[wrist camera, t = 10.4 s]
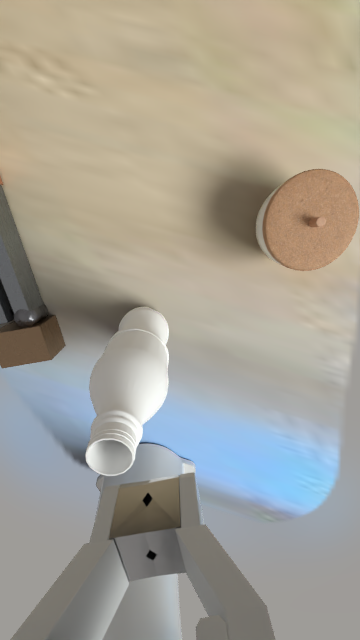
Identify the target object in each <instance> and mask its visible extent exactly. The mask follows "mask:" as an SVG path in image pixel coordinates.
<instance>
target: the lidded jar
mask: <svg viewBox="0 0 360 640" xmlns="http://www.w3.org/2000/svg"><path fill="white" fill-rule="evenodd" d="M358 218H359V206H358V200H357V197H356V194H355V192H354V190H353V188H352V186H351V185H350V184H349V182H348V181H347V180H346V179H345V178H343V177H342V176H341V175H339V174H337V173H336V172H333V171H330V170H325V169H313V170H308V171H304V172H302V173H299V174H297V175H295V176H294V177H292V178H290V179H289V180H287V181H286V182H285V183H283V184H281V185H280V186H279V187H278V188H276V189H275V190H274V191H273V192H272V193H271V194H270V195H269V196H268V197H267V199H266V200H265V202H264V203H263V205H262V206H261V208H260V210H259V213H258V216H257V220H256V237H257V241H258V243H259V246H260V248H261V249H262V251H263V252H264V253H265V254H266V255H267V256H268V257H269V258H270V259H271V260H273V261H274V262H276V263H278V264H280V265H283V266H285V267H287V268H291V269H294V270H300V271H309V270H315V269H318V268H321V267H324V266H326V265H328V264H329V263H331V262H332V261H334V260H335V259H337V258H338V257H339V256H340V255H341V254H342V253H343V252H344V250H345V249H346V248H347V247H348V245H349V243H350V242H351V240H352V238H353V236H354V234H355V231H356V228H357V224H358Z"/></svg>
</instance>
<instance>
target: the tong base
mask: <svg viewBox="0 0 360 640" xmlns="http://www.w3.org/2000/svg"><path fill="white" fill-rule="evenodd" d="M12 320H14V312H13V309H12V306H11V304H10V301H9V299H8V296H7V294H6V291H5V289H4V286H3V284H2V281H1V279H0V324H2V323H8V322H10V321H12ZM64 346H65V342H64V339H63V336H62V333H61V330H60V327H59V324H58V321H57V318H56V315H55V316H49V317H45V318H43V319H42V320H40V321H39V322H37V323H35V324H34V325H32V326H30V327H24V328H23V327H20V326H19V325H18V324H17V323H16V322H14V323H10V324H8V325H6V326H4V327H2V328H0V365H1V367H2V368H7V367H13V366H18V365H24V364H30V363H36V362H42V361H47V360H52V359H53V358H54V357H55V356H56V355H57V354H58V353H59V352H60V351H61V350H62V349H63V348H64Z"/></svg>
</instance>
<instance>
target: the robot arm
mask: <svg viewBox="0 0 360 640" xmlns="http://www.w3.org/2000/svg"><path fill="white" fill-rule="evenodd" d="M96 486H97V488H98V489H99V491H100V497H99V503H98V508H97V513H96V518H95V523H94V527H93V531H92V535H91V538H90V542H89V543H87V544H84V545H83V546H82V548H81V549H80V550H79V552H78V553H77V554H76V556H75V557H74V558H73V559H72V561H71V562H70V563H69V565H68V566H67V567H66V568H65V570H64V571H63V572H62V574H61V575H60V576H59V577H58V579H57V580H56V581H55V583H54V584H53V585H52V587H51V588H50V589H49V590H48V592H47V593H46V594H45V596H44V597H43V598H42V599H41V601H40V602H39V604H38V605H37V606H36V607H35V609H34V610H33V611H32V612H31V614H30V615H29V616H28V618H27V619H26V620H25V622H24V623H23V624H22V625H21V627H20V628H19V629H18V631H17V632H16V633H15V634H14V636H13V637H12V639H11V640H182V631H181V621H180V607H179V590H178V573H185V572H186V573H187V575H188V578H189V579H190V581H191V583H192V585H193V587H194V589H195V591H196V593H197V595H198V597H199V598H200V600H201V602H202V604H203V606H204V608H205V610H206V612H207V614H208V616H209V617H205V618H201V619H200V620H199V622H198V624H197V626H196V639H197V640H275V636H274V632H273V629H272V625H271V621H270V618H269V614H268V610H267V606H266V605H265V603H264V602H263V601H262V599H261V598H260V597H259V596H258V594H257V593H256V592H255V590H254V589H253V588H252V586H251V585H250V583H249V582H248V581H247V579H246V578H245V577H244V575H243V574H242V573H241V571H240V570H239V569H238V567H237V566H236V565H235V563H234V562H233V561H232V559H231V558H230V557H229V556H228V554H227V553H226V551H225V550H224V549H223V548H222V546H221V545H220V543H219V542H218V541H217V539H216V538H215V537H214V535H213V534H212V533H211V531H210V530H209V529H208V527H207V526H206V525H205V524H204V522H203V514H202V508H201V502H200V496H199V491H198V486H197V481H196V475H195V464H194V463H193V462H192V461H189V460H187V459H183V458H181V457H179V456H178V455H176V454H175V453H174V452H172V451H171V450H169V449H168V448H165V447H163V446H160V445H156V444H138V446H137V448H136V453H135V460H134V462H133V465H132V466H131V468H129V469H128V470H127V471H126V472H125V473H122V474H119V475H116V476H106V475H102V474H101V475H100V476H99V477H98V478H97V483H96Z"/></svg>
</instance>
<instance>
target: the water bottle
mask: <svg viewBox="0 0 360 640" xmlns="http://www.w3.org/2000/svg"><path fill="white" fill-rule="evenodd" d="M168 336H169V328H168V324H167V321H166V319H165V318H164V316H163V315H162V314H161V313H160V312H158V311H155V310H153V309H151V308H149V307H138V308H135V309H133V310H131V311H129V312H128V313H127V314H126V315H125V316H124V317H123V318H122V320H121V322H120V324H119V331H118V332H117V333H115V334H114V335H113V336H112V337H111V339H110V340H109V342H108V344H107V346H106V348H105V351H104V353H103V355H102V357H101V358H100V359H99V360H98V361H97V363H96V364H95V366H94V368H93V371H92V374H91V377H90V385H89V390H90V397H91V401H92V404H93V407H94V409H95V412H96V414H97V417H96V418H95V419H94V421H93V423H92V426H91V436H90V438H91V439H90V441H89V444H88V447H87V449H86V454H85V455H86V462H87V464H88V465H89V467H90V468H91V469H92V470H94V471H95V472H97V473H99V474H102V475H106V476H116V475H119V474H122V473H125V472H126V471H127V470H128V469H129V468H131V466H132V465H133V462H134V460H135V453H136V448H137V446H138V444H139V442H140V440H141V438H142V433H143V428H142V425H143V424H144V423H145V422H147V421H148V420H149V419H150V418H151V417H152V416H153V415H154V414H155V413H156V412H157V411H158V410H159V408H160V407H161V406H162V404H163V402H164V400H165V398H166V395H167V391H168V385H169V380H168V374H167V366H168V362H169V353H168V349H167V347H166V343H167V340H168Z"/></svg>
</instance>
